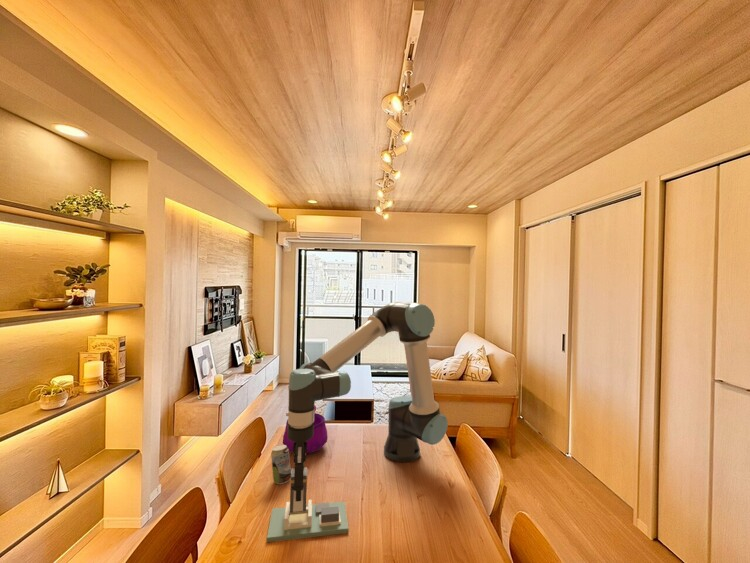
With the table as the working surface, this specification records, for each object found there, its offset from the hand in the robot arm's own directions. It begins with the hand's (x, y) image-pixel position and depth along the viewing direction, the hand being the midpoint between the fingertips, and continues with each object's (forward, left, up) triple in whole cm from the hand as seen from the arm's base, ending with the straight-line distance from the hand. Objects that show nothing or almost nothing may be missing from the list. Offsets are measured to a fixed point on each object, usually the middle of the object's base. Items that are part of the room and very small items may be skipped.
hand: (298, 504), depth 96 cm
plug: (0, 0, -1) cm, 1 cm away
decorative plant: (-1, -46, -6) cm, 46 cm away
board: (-3, 0, -5) cm, 6 cm away
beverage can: (+7, -23, -6) cm, 24 cm away
